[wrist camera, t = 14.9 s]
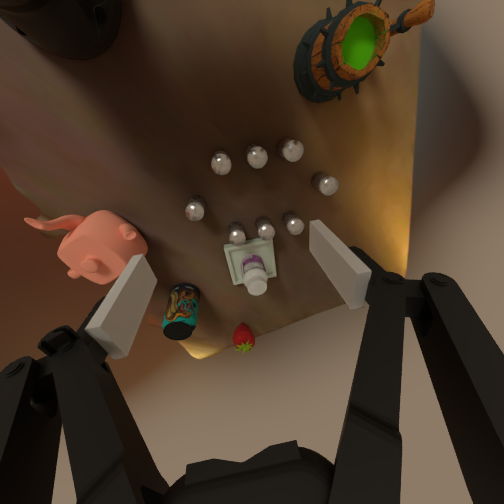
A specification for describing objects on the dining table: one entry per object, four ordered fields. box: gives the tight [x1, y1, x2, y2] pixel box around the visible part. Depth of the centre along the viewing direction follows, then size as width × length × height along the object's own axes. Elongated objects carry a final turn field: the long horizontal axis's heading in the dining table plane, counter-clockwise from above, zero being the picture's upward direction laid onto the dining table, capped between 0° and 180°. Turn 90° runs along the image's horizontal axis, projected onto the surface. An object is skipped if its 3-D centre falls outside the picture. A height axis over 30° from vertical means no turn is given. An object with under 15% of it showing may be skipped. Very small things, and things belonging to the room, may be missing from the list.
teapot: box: [24, 210, 148, 284], centre depth 37 cm, size 14×14×11 cm
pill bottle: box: [240, 253, 268, 295], centre depth 45 cm, size 5×5×10 cm
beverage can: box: [162, 283, 200, 340], centre depth 47 cm, size 7×7×12 cm
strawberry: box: [233, 323, 255, 352], centre depth 58 cm, size 6×8×10 cm
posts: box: [185, 138, 339, 246], centre depth 39 cm, size 28×17×5 cm, turn 99°
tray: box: [224, 238, 276, 285], centre depth 49 cm, size 11×11×2 cm
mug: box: [293, 0, 435, 103], centre depth 27 cm, size 13×10×12 cm
